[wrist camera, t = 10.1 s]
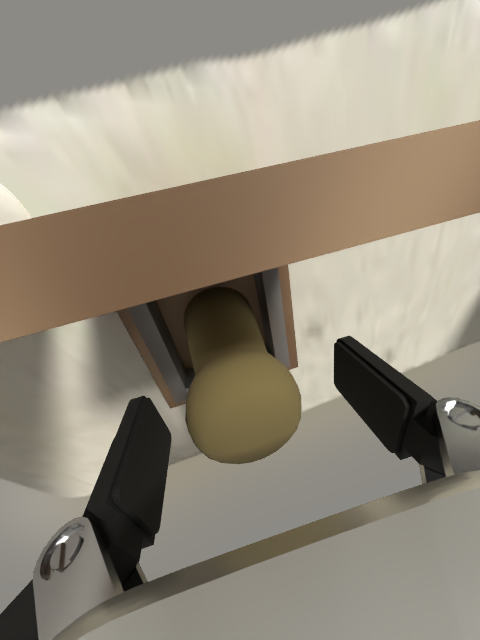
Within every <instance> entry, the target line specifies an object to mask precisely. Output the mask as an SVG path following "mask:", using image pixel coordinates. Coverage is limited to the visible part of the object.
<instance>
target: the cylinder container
mask: <svg viewBox="0 0 480 640" xmlns="http://www.w3.org/2000/svg"><path fill="white" fill-rule="evenodd" d="M31 218H32V217H31V216H30V214H29V213H28V211H27V210H26V209H25V208H24V206H23V205H22V204H21V203H20V202H19V201H18V199H17V198H16V197H15V196H14V195H13V194H12V193H11V192H10V191H8V190H7V189H6V188H5V187H4V186H3V185H2V184H1V183H0V225H4V224H8V223H13V222H17V221H22V220H26V219H31Z"/></svg>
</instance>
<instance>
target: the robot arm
mask: <svg viewBox="0 0 480 640" xmlns="http://www.w3.org/2000/svg"><path fill="white" fill-rule="evenodd" d="M334 384H335V386H336V388H337V389H338V391H339V392H340V393H341V394H342V395H343V397H344V398H345V399H346V400H347V401H348V403H349V404H350V405H351V406H352V407H353V409H354V410H355V411H356V412H357V413H358V415H359V416H360V417H361V418H362V419H363V421H364V422H365V423H366V424H367V425H368V427H369V428H370V429H371V430H372V431H373V433H374V434H375V435H376V436H377V437H378V439H379V440H380V441H381V442H382V443H383V445H384V446H385V447H386V448H387V449H388V450H389V451H390V452H391V453H395V454H396V455H397V456H398V458H399V459H400V460H402V459H405V458H408V457H411V456H412V457H413V458H414V459H415V460H416V461H417V462H418V463H419V467H420V473H421V479H422V485H419V486H416V487H413V488H410V489H407V490H404V491H400V492H398V493H395V494H392V495H389V496H386V497H383V498H380V499H378V500H375V501H372V502H369V503H366V504H363V505H360V506H357V507H355V508H352V509H349V510H346V511H343V512H340V513H337V514H335V515H332V516H329V517H326V518H323V519H320V520H317V521H315V522H312V523H309V524H306V525H303V526H301V527H298V528H295V529H292V530H289V531H286V532H284V533H281V534H278V535H275V536H273V537H270V538H267V539H264V540H261V541H259V542H256V543H253V544H250V545H247V546H244V547H242V548H239V549H236V550H233V551H231V552H228V553H225V554H222V555H219V556H217V557H214V558H211V559H209V560H206V561H203V562H200V563H197V564H195V565H192V566H189V567H186V568H183V569H181V570H178V571H176V572H173V573H170V574H168V575H165V576H163V577H160V578H157V579H155V580H152V581H150V582H148V581H147V579H146V577H145V575H144V572H143V570H142V568H141V566H140V564H139V559H140V554H141V549H143V548H145V547H149V546H151V545H154V539H155V534H156V533H158V531H159V528H160V522H161V515H162V507H163V500H164V492H165V484H166V477H167V469H168V462H169V454H170V446H171V433H170V431H169V429H168V427H167V426H166V424H165V422H164V421H163V419H162V417H161V416H160V414H159V412H158V411H157V409H156V407H155V406H154V404H153V402H152V401H151V399H150V398H146V397H145V396H141V397H138V398H134V399H131V400H130V402H129V404H128V406H127V409H126V411H125V414H124V416H123V419H122V421H121V424H120V426H119V429H118V431H117V434H116V436H115V438H114V440H113V442H112V444H111V447H110V449H109V452H108V454H107V457H106V459H105V462H104V464H103V467H102V469H101V472H100V474H99V477H98V479H97V482H96V484H95V487H94V489H93V492H92V494H91V497H90V500H89V502H88V504H87V507H86V509H85V512H84V515H83V517H78V518H75V519H73V520H71V521H69V522H68V523H66V524H65V525H64V526H63V527H61V528H60V529H59V530H58V531H57V532H56V534H55V535H54V536H53V537H52V538H51V539H50V541H49V542H48V543H47V545H46V546H45V547H44V549H43V551H42V553H41V554H40V556H39V558H38V560H37V563H36V566H35V569H34V572H33V579H32V580H31V582H30V583H29V584H28V585H27V586H26V587H25V588H24V589H23V590H22V592H20V594H19V595H18V596H17V597H16V598H15V599H14V600H13V601H12V602H11V603H10V604H9V605H8V607H7V608H6V609H5V610H4V611H3V612H2V613H1V614H0V640H480V406H478V405H476V404H474V403H471V402H469V401H466V400H462V399H459V398H443V399H441V400H439V401H437V400H435V399H434V398H433V397H432V396H431V395H429V394H428V393H427V392H425V391H424V390H422V389H421V388H420V387H419V386H417V385H416V384H414V383H413V382H412V381H410V380H409V379H407V378H406V377H405V376H404V375H402V374H401V373H400V372H398V371H397V370H396V369H394V368H393V367H392V366H390V365H389V364H388V363H386V362H385V361H383V360H382V359H381V358H379V357H378V356H377V355H375V354H374V353H373V352H371V351H370V350H369V349H367V348H366V347H365V346H363V345H362V344H361V343H359V342H358V341H357V340H355V339H354V338H352V337H351V336H346V337H343V338H340V339H337V342H336V343H335V344H334Z"/></svg>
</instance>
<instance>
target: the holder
mask: <svg viewBox="0 0 480 640" xmlns="http://www.w3.org/2000/svg"><path fill="white" fill-rule="evenodd" d="M479 212H480V120H479V121H475V122H470V123H465V124H461V125H456V126H452V127H447V128H443V129H438V130H433V131H429V132H424V133H420V134H415V135H411V136H406V137H401V138H397V139H392V140H388V141H383V142H379V143H374V144H369V145H365V146H360V147H356V148H351V149H347V150H342V151H337V152H333V153H328V154H324V155H319V156H315V157H310V158H305V159H301V160H296V161H292V162H287V163H283V164H278V165H273V166H269V167H264V168H260V169H255V170H251V171H246V172H241V173H237V174H232V175H228V176H223V177H219V178H214V179H209V180H205V181H200V182H196V183H191V184H187V185H182V186H177V187H173V188H168V189H164V190H159V191H155V192H150V193H145V194H141V195H136V196H132V197H127V198H122V199H118V200H113V201H109V202H104V203H100V204H95V205H90V206H86V207H81V208H77V209H72V210H68V211H63V212H58V213H54V214H49V215H45V216H40V217H36V218H31V219H26V220H22V221H17V222H13V223H8V224H4V225H0V342H4V341H7V340H11V339H15V338H18V337H22V336H26V335H29V334H33V333H37V332H40V331H44V330H48V329H51V328H55V327H59V326H63V325H66V324H70V323H74V322H77V321H81V320H85V319H88V318H92V317H96V316H99V315H103V314H107V313H110V312H114V311H117V312H118V314H119V316H120V318H121V320H122V321H123V323H124V325H125V327H126V329H127V331H128V332H129V334H130V336H131V338H132V340H133V341H134V343H135V345H136V347H137V349H138V351H139V352H140V354H141V356H142V358H143V360H144V361H145V363H146V365H147V367H148V369H149V371H150V372H151V374H152V376H153V378H154V380H155V381H156V383H157V385H158V387H159V389H160V391H161V392H162V394H163V396H164V398H165V400H166V401H167V403H168V405H169V407H170V408H173V407H176V406H179V405H182V404H186V398H187V393H188V390H189V388H190V385H191V383H192V381H193V379H194V377H195V372H194V367H193V363H192V358H191V354H190V349H189V345H188V341H187V336H186V332H185V327H184V313H185V310H186V308H187V305H188V303H189V302H190V301H191V300H192V299H193V298H194V297H195V295H197V294H199V293H200V292H202V291H204V290H205V289H209V288H213V287H228V288H231V289H234V290H236V291H238V292H240V293H241V294H242V295H243V296H244V297H245V298H247V300H248V302H249V304H250V305H251V307H252V310H253V313H254V316H255V319H256V321H257V324H258V327H259V330H260V333H261V336H262V339H263V341H264V344H265V347H266V350H267V353H269V354H270V355H272V356H273V357H274V358H276V359H277V360H278V361H280V362H281V363H282V364H283V365H285V366H286V367H287V369H288V370H290V369H293V368H296V367H298V361H297V351H296V341H295V331H294V321H293V311H292V301H291V291H290V281H289V271H288V264H291V263H295V262H298V261H302V260H306V259H309V258H313V257H317V256H321V255H324V254H328V253H332V252H335V251H339V250H343V249H346V248H350V247H354V246H357V245H361V244H365V243H368V242H372V241H376V240H380V239H383V238H387V237H391V236H394V235H398V234H402V233H405V232H409V231H413V230H416V229H420V228H424V227H427V226H431V225H435V224H439V223H442V222H446V221H450V220H453V219H457V218H461V217H464V216H468V215H472V214H475V213H479Z"/></svg>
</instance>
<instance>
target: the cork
mask: <svg viewBox="0 0 480 640" xmlns="http://www.w3.org/2000/svg"><path fill="white" fill-rule="evenodd" d="M184 327H185V332H186V336H187V341H188V345H189V349H190V354H191V358H192V363H193V367H194V372H195V377H194V379H193V381H192V383H191V385H190V388H189V390H188V393H187V398H186V424H187V428H188V431H189V433H190V436H191V438H192V440H193V442H194V444H195V445H196V446H197V447H198V449H199V450H200V451H201V452H202V453H203V454H205V455H206V456H207V457H208V458H210V459H212V460H216V461H218V462H221V463H231V464H243V463H249V462H254V461H257V460H260V459H262V458H265V457H267V456H269V455H270V454H272V453H274V452H276V451H277V450H278V449H279V448H281V447H282V446H283V445H284V444H285V443H286V442H287V441H288V440H289V439H290V438H291V437H292V435H293V434H294V433H295V431H296V430H297V427H298V424H299V422H300V419H301V395H300V392H299V388H298V385H297V384H296V382H295V380H294V378H293V376H292V374H291V373H290V372H289V370H288V369H287V367H286V366H285V365H283V364H282V363H281V362H280V361H278V360H277V359H276V358H274V357H273V356H272V355H270V354H269V353H267V350H266V347H265V344H264V341H263V339H262V336H261V333H260V330H259V327H258V324H257V321H256V319H255V316H254V313H253V310H252V307H251V305H250V304H249V302H248V300H247V298H245V297H244V296H243V295H242V294H241V293H240V292H238V291H236V290H234V289H231V288H228V287H213V288H209V289H205V290H204V291H202V292H200V293H199V294H197V295H195V297H194V298H193V299H192V300H191V301H190V302H189V303H188V305H187V308H186V310H185V313H184Z"/></svg>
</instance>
